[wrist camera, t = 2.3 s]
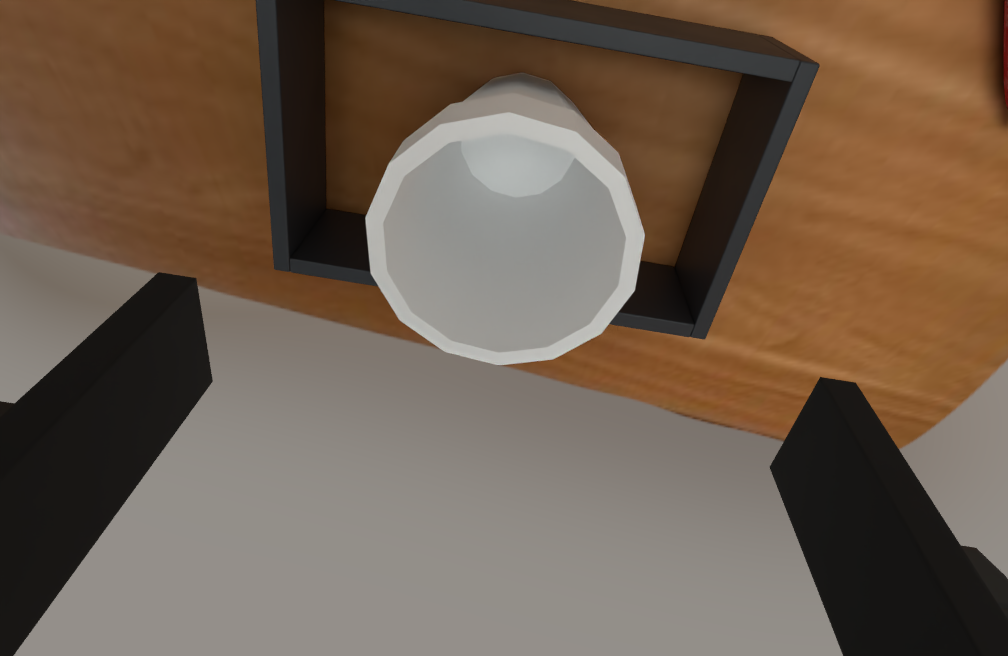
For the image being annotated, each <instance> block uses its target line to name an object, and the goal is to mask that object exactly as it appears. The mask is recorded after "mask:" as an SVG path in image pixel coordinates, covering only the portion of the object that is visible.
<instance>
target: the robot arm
mask: <svg viewBox="0 0 1008 656" xmlns="http://www.w3.org/2000/svg"><path fill="white" fill-rule="evenodd" d="M211 383H212V374H211V369H210V362H209V355H208V350H207V343H206V337H205V331H204V324H203V318H202V311H201V305H200V299H199V293H198V286H197V280H196V278H192V277H185V276H179V275H173V274H166V273H160V272H159V273H157V274H156V275H155V276H154V277H153V278H152V279H151V280H150V281H149V282H148V283H147V284H145V285H144V286H143V287H142V288H141V289H140V290H139V291H138V292H137V293H136V294H134V295H133V296H132V297H131V298H130V299H129V300H128V301H127V302H126V303H125V304H123V306H121V307H120V308H119V309H118V310H117V311H116V312H115V313H114V314H112V315H111V316H110V317H109V318H108V319H107V320H106V321H105V322H104V323H103V324H102V325H100V326H99V327H98V328H97V329H96V330H95V331H94V332H93V333H92V334H90V335H89V336H88V337H87V338H86V339H85V340H84V341H83V342H82V343H81V344H80V345H78V346H77V347H76V348H75V349H74V350H73V351H72V352H71V353H70V354H69V355H68V356H66V357H65V358H64V359H63V360H62V361H61V362H60V363H59V364H58V365H57V366H55V367H54V368H53V369H52V370H51V371H50V372H49V373H48V374H47V375H46V376H44V377H43V378H42V379H41V380H40V381H39V382H38V383H37V384H36V385H35V386H33V387H32V388H31V389H30V390H29V391H28V392H27V393H26V394H25V395H24V396H22V397H21V398H20V399H19V400H18V401H17V402H16V403H15V404H14V403H7V402H1V401H0V656H13V655H14V654H15V653H16V651H17V650H18V649H19V647H20V646H21V644H22V643H23V642H24V640H25V639H26V638H27V636H28V635H29V633H30V632H31V631H32V629H33V628H34V626H35V625H36V624H37V622H38V621H39V620H40V618H41V617H42V616H43V614H44V613H45V611H46V610H47V609H48V607H49V606H50V604H51V603H52V602H53V600H54V599H55V598H56V596H57V595H58V593H59V592H60V591H61V589H62V588H63V587H64V585H65V584H66V582H67V581H68V580H69V578H70V577H71V576H72V574H73V573H74V571H75V570H76V569H77V567H78V566H79V565H80V563H81V562H82V560H83V559H84V558H85V556H86V555H87V554H88V552H89V550H90V549H91V548H92V547H93V545H94V544H95V543H96V541H97V540H98V538H99V537H100V536H101V534H102V533H103V531H104V530H105V529H106V527H107V526H108V525H109V523H110V522H111V521H112V519H113V517H114V516H115V515H116V514H117V512H118V511H119V510H120V508H121V507H122V505H123V504H124V503H125V501H126V500H127V498H128V497H129V496H130V494H131V493H132V492H133V490H134V489H135V488H136V486H137V485H138V483H139V482H140V481H141V479H142V478H143V476H144V475H145V474H146V472H147V471H148V470H149V468H150V467H151V466H152V464H153V463H154V461H155V460H156V459H157V457H158V456H159V454H160V453H161V452H162V450H163V449H164V448H165V446H166V445H167V443H168V442H169V441H170V439H171V438H172V437H173V435H174V434H175V432H176V431H177V429H178V428H179V427H180V426H181V424H182V423H183V421H184V420H185V419H186V417H187V416H188V415H189V413H190V412H191V410H192V409H193V408H194V406H195V405H196V404H197V402H198V401H199V399H200V398H201V396H202V395H203V394H204V392H205V391H206V390H207V388H208V387H209V386H210V384H211ZM770 469H771V472H772V475H773V477H774V480H775V482H776V485H777V487H778V490H779V492H780V495H781V498H782V500H783V503H784V505H785V508H786V510H787V513H788V515H789V518H790V521H791V523H792V526H793V528H794V531H795V533H796V536H797V539H798V541H799V543H800V546H801V548H802V551H803V554H804V556H805V559H806V562H807V564H808V567H809V569H810V572H811V574H812V577H813V579H814V582H815V585H816V587H817V590H818V592H819V595H820V597H821V600H822V602H823V605H824V608H825V610H826V613H827V615H828V618H829V620H830V623H831V625H832V628H833V631H834V633H835V635H836V638H837V641H838V643H839V646H840V649H841V651H842V654H843V656H1008V579H1007V578H1006V576H1005V575H1004V574H1003V573H1001V572H1000V571H999V569H997V568H996V567H995V566H994V565H993V564H992V563H991V562H990V561H989V560H988V559H987V558H986V557H985V556H984V555H983V554H982V553H981V552H980V551H979V550H978V549H977V548H973V547H967V546H961V545H960V544H959V542H958V541H957V539H956V538H955V536H954V535H953V533H952V531H951V530H950V528H949V527H948V525H947V524H946V522H945V521H944V519H943V518H942V516H941V514H940V513H939V512H938V510H937V508H936V507H935V505H934V504H933V502H932V500H931V499H930V497H929V496H928V494H927V493H926V491H925V490H924V488H923V486H922V485H921V483H920V482H919V480H918V479H917V477H916V476H915V474H914V473H913V471H912V469H911V468H910V466H909V465H908V463H907V462H906V460H905V459H904V457H903V455H902V454H901V452H900V451H899V449H898V448H897V446H896V445H895V443H894V441H893V440H892V438H891V437H890V435H889V434H888V432H887V431H886V429H885V427H884V426H883V424H882V423H881V421H880V420H879V418H878V417H877V415H876V414H875V412H874V410H873V409H872V407H871V406H870V404H869V403H868V401H867V400H866V398H865V396H864V395H863V393H862V392H861V390H860V389H859V387H858V386H857V384H856V383H854V382H848V381H841V380H835V379H829V378H822V377H820V379H819V380H818V382H817V384H816V386H815V388H814V389H813V391H812V393H811V395H810V396H809V398H808V400H807V402H806V404H805V405H804V407H803V409H802V411H801V412H800V414H799V416H798V418H797V420H796V421H795V423H794V425H793V427H792V428H791V430H790V432H789V434H788V435H787V437H786V439H785V441H784V443H783V444H782V446H781V448H780V450H779V451H778V453H777V455H776V457H775V459H774V460H773V462H772V464H771V466H770Z"/></svg>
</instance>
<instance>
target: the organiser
mask: <svg viewBox="0 0 1008 656" xmlns="http://www.w3.org/2000/svg"><path fill="white" fill-rule="evenodd" d="M336 1H341V2H347V3H352V4H358V5H364V6H369V7H375V8H380V9H386V10H391V11H397V12H403V13H408V14H414V15H419V16H425V17H431V18H436V19H442V20H447V21H453V22H459V23H464V24H470V25H475V26H481V27H486V28H492V29H498V30H503V31H509V32H514V33H520V34H526V35H531V36H537V37H542V38H548V39H553V40H559V41H565V42H570V43H576V44H581V45H587V46H593V47H598V48H604V49H609V50H615V51H621V52H626V53H632V54H637V55H643V56H648V57H654V58H660V59H665V60H671V61H676V62H682V63H688V64H693V65H699V66H704V67H710V68H716V69H721V70H727V71H732V72H738V73H743V77H742V80H741V83H740V85H739V88H738V91H737V94H736V97H735V100H734V102H733V105H732V108H731V111H730V114H729V116H728V119H727V122H726V125H725V128H724V131H723V133H722V136H721V139H720V142H719V145H718V147H717V150H716V153H715V156H714V159H713V162H712V164H711V167H710V170H709V173H708V176H707V178H706V181H705V184H704V187H703V190H702V192H701V195H700V198H699V201H698V204H697V207H696V209H695V212H694V215H693V218H692V221H691V223H690V226H689V229H688V232H687V235H686V238H685V240H684V243H683V246H682V249H681V252H680V254H679V257H678V260H677V263H676V266H675V268H674V267H672V266H666V265H660V264H654V263H648V262H642V261H640V265H639V270H638V276H637V281H636V287H635V291H634V292H633V293H632V295H631V296H630V297H629V299H628V300H627V301H626V303H625V304H624V305H623V306H622V308H621V309H620V310H619V312H618V313H617V314H616V315H615V317H614V318H613V319H612V321H611V322H610V323H609V324H612V325H618V326H624V327H630V328H636V329H642V330H648V331H655V332H661V333H667V334H673V335H679V336H685V337H693V338H699V339H705V338H706V336H707V333H708V331H709V329H710V326H711V324H712V322H713V319H714V317H715V314H716V312H717V310H718V307H719V305H720V302H721V300H722V298H723V295H724V293H725V290H726V288H727V286H728V283H729V281H730V279H731V276H732V274H733V271H734V269H735V267H736V264H737V262H738V259H739V257H740V255H741V252H742V250H743V247H744V245H745V243H746V240H747V238H748V236H749V233H750V231H751V228H752V226H753V224H754V221H755V219H756V216H757V214H758V212H759V209H760V207H761V204H762V202H763V200H764V197H765V195H766V193H767V190H768V188H769V185H770V183H771V181H772V178H773V176H774V173H775V171H776V169H777V166H778V164H779V161H780V159H781V157H782V154H783V152H784V150H785V147H786V145H787V142H788V140H789V138H790V135H791V133H792V130H793V128H794V126H795V123H796V121H797V118H798V116H799V114H800V111H801V109H802V107H803V104H804V102H805V99H806V97H807V95H808V92H809V90H810V87H811V85H812V83H813V80H814V78H815V75H816V73H817V71H818V68H819V64H818V63H817V62H815V61H813V60H811V59H810V58H808V57H806V56H804V55H803V54H801V53H799V52H797V51H796V50H794V49H792V48H790V47H789V46H787V45H785V44H783V43H782V42H780V41H778V40H776V39H775V38H773V37H768V36H763V35H757V34H752V33H747V32H741V31H736V30H730V29H725V28H719V27H714V26H708V25H703V24H697V23H692V22H686V21H681V20H675V19H670V18H664V17H659V16H653V15H648V14H642V13H637V12H631V11H626V10H620V9H615V8H609V7H604V6H598V5H593V4H587V3H582V2H576V1H571V0H336ZM256 11H257V26H258V40H259V55H260V70H261V84H262V99H263V114H264V128H265V143H266V157H267V172H268V187H269V201H270V216H271V231H272V245H273V260H274V269H275V270H281V271H287V272H290V271H291V272H293V273H299V274H305V275H311V276H317V277H323V278H330V279H336V280H342V281H348V282H354V283H360V284H366V285H373V286H378V285H377V283H376V281H375V280H374V278H373V277H372V275H371V272H370V262H369V251H368V241H367V231H366V220H365V217H366V215H361V214H355V213H349V212H343V211H337V210H331V209H326V152H325V72H324V0H256Z"/></svg>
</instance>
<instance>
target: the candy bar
mask: <svg viewBox="0 0 1008 656" xmlns="http://www.w3.org/2000/svg"><path fill="white" fill-rule="evenodd" d="M1004 91H1005V101H1006V105H1007V108H1008V0H1004Z"/></svg>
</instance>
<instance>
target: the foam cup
mask: <svg viewBox="0 0 1008 656" xmlns="http://www.w3.org/2000/svg"><path fill="white" fill-rule="evenodd" d="M365 220H366V231H367V241H368V251H369V262H370V272H371V275H372V277H373V278H374V280H375V281H376V283H377V285H378V286H379V288H380V289H381V291H382V293H383V294H384V296H385V297H386V299H387V301H388V302H389V304H390V306H391V307H392V309H393V310H394V312H395V314H396V315H397V317H398V318H399V320H400V321H401V322H403V323H404V324H406V325H407V326H409V327H410V328H411V329H413V330H414V331H416V332H417V333H418V334H420V335H421V336H423V337H424V338H426V339H427V340H428V341H430V342H431V343H433V344H434V345H436V346H437V347H438V348H440V349H441V350H443V351H444V352H447V353H451V354H455V355H459V356H463V357H467V358H471V359H475V360H479V361H483V362H487V363H491V364H495V365H507V364H516V363H525V362H534V361H543V360H552V359H555V358H557V357H558V356H560V355H562V354H564V353H566V352H568V351H570V350H572V349H574V348H575V347H577V346H579V345H581V344H583V343H585V342H587V341H589V340H590V339H592V338H594V337H596V336H598V335H600V334H602V332H603V331H604V330H605V328H606V327H607V326H608V324H609V323H610V322H611V321H612V319H613V318H614V317H615V315H616V314H617V313H618V312H619V310H620V309H621V308H622V306H623V305H624V304H625V303H626V301H627V300H628V299H629V297H630V296H631V295H632V293H633V292H634V291H635V287H636V281H637V276H638V270H639V265H640V259H641V254H642V249H643V243H644V238H645V234H644V230H643V227H642V223H641V220H640V216H639V213H638V209H637V206H636V203H635V200H634V197H633V194H632V191H631V188H630V185H629V182H628V179H627V176H626V173H625V170H624V167H623V164H622V161H621V158H620V155H619V153H618V152H617V151H616V150H615V149H614V148H613V147H612V146H611V145H610V144H609V143H608V142H607V141H606V140H604V139H603V138H602V137H601V136H600V135H599V134H598V133H597V132H596V131H595V130H594V129H593V128H592V127H591V126H590V124H589V123H588V122H587V120H586V119H585V118H584V116H583V115H582V114H581V112H580V111H579V110H578V108H577V107H576V106H575V104H574V103H573V102H572V101H571V100H570V99H569V98H568V97H567V96H566V95H565V94H564V93H563V92H562V91H561V90H560V89H559V88H558V87H556V86H555V85H554V84H553V83H552V82H551V81H550V80H546V79H543V78H540V77H536V76H533V75H530V74H526V73H523V72H522V73H516V74H511V75H505V76H500V77H495V78H493V79H491V80H490V81H488V82H487V83H486V84H485V85H483V86H482V87H481V88H479V89H478V90H477V91H476V92H474V93H473V94H472V95H470V96H469V97H468V98H467V99H465V100H464V101H463V102H459V103H453V104H450V105H449V106H447V107H446V108H445V109H443V110H442V111H441V112H440V113H438V114H437V115H436V116H434V117H433V118H432V119H431V120H429V121H428V122H427V123H425V124H424V125H423V126H422V127H420V128H419V129H418V130H416V131H415V132H414V133H413V134H411V135H410V136H409V137H407V138H406V139H405V140H404V141H403V142H402V144H401V145H400V147H399V148H398V150H397V151H396V153H395V155H394V156H393V158H392V159H391V161H390V162H389V164H388V166H387V169H386V171H385V173H384V176H383V178H382V180H381V183H380V185H379V187H378V190H377V192H376V194H375V197H374V199H373V201H372V204H371V206H370V208H369V210H368V213H367V215H366V217H365Z"/></svg>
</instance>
